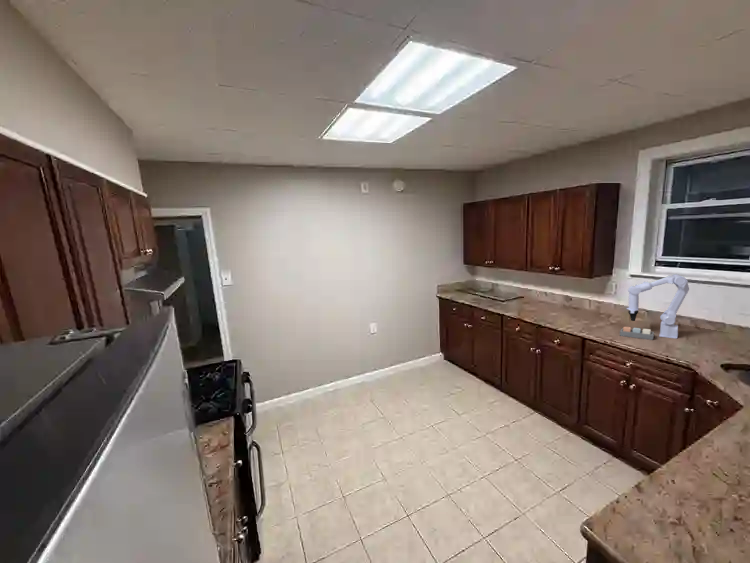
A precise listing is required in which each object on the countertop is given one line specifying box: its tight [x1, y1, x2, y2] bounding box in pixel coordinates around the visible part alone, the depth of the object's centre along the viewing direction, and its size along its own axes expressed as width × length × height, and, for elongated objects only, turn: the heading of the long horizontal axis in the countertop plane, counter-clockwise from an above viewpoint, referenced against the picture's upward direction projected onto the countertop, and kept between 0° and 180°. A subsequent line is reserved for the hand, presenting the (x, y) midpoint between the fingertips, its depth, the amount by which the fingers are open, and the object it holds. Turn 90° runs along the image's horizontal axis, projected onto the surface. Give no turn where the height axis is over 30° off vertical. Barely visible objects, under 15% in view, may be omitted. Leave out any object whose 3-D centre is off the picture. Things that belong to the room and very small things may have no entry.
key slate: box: [632, 327, 642, 333], centre depth 236 cm, size 4×4×4 cm
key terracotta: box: [623, 326, 632, 332], centre depth 239 cm, size 4×4×4 cm
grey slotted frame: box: [619, 327, 655, 341], centre depth 236 cm, size 19×9×3 cm, turn 47°
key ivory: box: [642, 328, 652, 334], centre depth 232 cm, size 4×4×4 cm
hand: (633, 320), depth 240 cm, fingers closed
